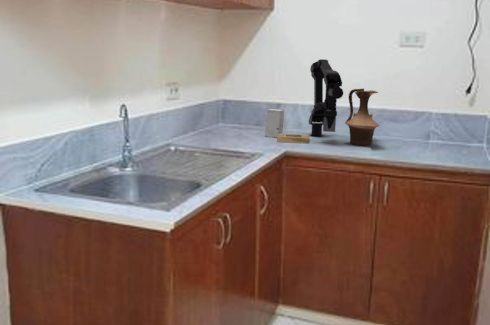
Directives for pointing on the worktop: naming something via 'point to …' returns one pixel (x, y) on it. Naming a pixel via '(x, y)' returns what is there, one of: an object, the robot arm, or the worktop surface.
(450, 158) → the worktop surface
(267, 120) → the skincare box
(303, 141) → the post socket
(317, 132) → the robot arm
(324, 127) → the dark grey rectangular prism
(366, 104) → the pitcher
